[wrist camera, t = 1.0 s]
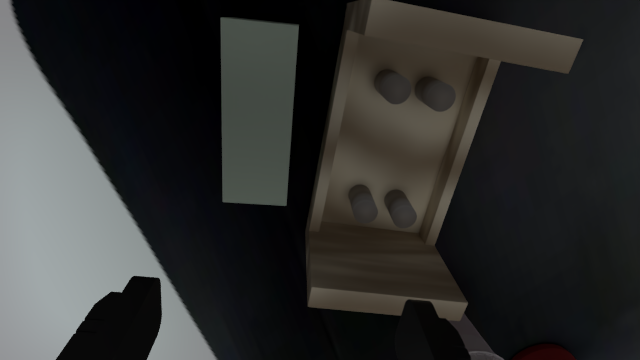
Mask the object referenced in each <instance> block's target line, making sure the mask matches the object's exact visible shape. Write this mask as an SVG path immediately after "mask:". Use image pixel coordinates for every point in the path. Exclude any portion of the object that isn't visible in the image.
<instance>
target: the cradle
mask: <svg viewBox="0 0 640 360" xmlns="http://www.w3.org/2000/svg"><path fill="white" fill-rule="evenodd" d="M582 41H583V39H578V38H573V37H568V36H563V35H558V34H553V33H548V32H543V31H538V30H533V29H528V28H523V27H519V26H514V25H509V24H504V23H499V22H494V21H489V20H484V19H479V18H474V17H469V16H464V15H459V14H454V13H449V12H445V11H440V10H435V9H430V8H425V7H420V6H415V5H410V4H405V3H400V2H395V1H390V0H358V1H354V2H350V3H347V9H346V14H345V20H344V25H343V30H342V36H341V41H340V47H339V52H338V57H337V63H336V68H335V74H334V79H333V84H332V90H331V95H330V101H329V106H328V111H327V117H326V122H325V128H324V133H323V138H322V144H321V149H320V155H319V160H318V165H317V171H316V176H315V181H314V187H313V192H312V198H311V203H310V208H309V214H308V219H307V225H306V230H305V235H306V267H307V300H308V307H316V308H326V309H337V310H347V311H358V312H368V313H379V314H389V315H400V316H401V314H402V311H403V308H404V305H405V302H406V301H407V300H408V299H412V300H424V301H430V302H432V304H433V306H434V308H435V310H436V312H437V314H438V317H439V318H446V319H447V320H452V321H460V320H461V318H462V316H463V313H464V311H465V309H466V306H467V304H468V302H467V301H466V299H465V297H464V295H463V294H462V292H461V290H460V289H459V287H458V285H457V284H456V282H455V280H454V278H453V277H452V275H451V273H450V272H449V270H448V268H447V267H446V265H445V263H444V261H443V260H442V258H441V256H440V255H439V253H438V251H437V250H436V248H435V246H434V245H435V243H436V240H437V237H438V234H439V232H440V229H441V226H442V223H443V220H444V218H445V215H446V212H447V209H448V207H449V204H450V201H451V198H452V195H453V193H454V190H455V187H456V184H457V182H458V179H459V176H460V173H461V170H462V168H463V165H464V162H465V159H466V157H467V154H468V151H469V148H470V145H471V143H472V140H473V137H474V134H475V131H476V129H477V126H478V123H479V120H480V118H481V115H482V112H483V109H484V106H485V104H486V101H487V98H488V95H489V93H490V90H491V87H492V84H493V81H494V79H495V76H496V73H497V70H498V68H499V65H500V62H501V61H504V62H509V63H514V64H519V65H525V66H530V67H535V68H541V69H546V70H551V71H556V72H562V73H567V74H568V73H569V71H570V69H571V66H572V64H573V62H574V60H575V57H576V55H577V53H578V50H579V48H580V46H581V44H582Z"/></svg>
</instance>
